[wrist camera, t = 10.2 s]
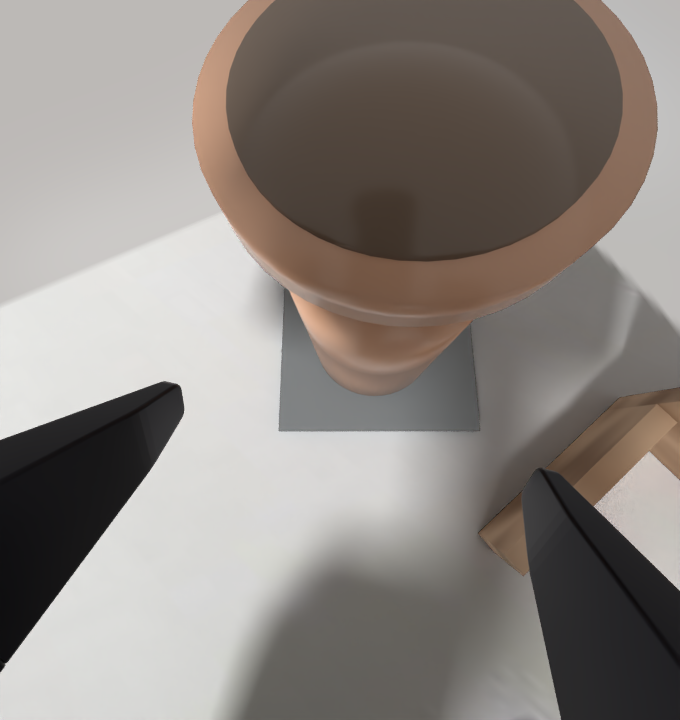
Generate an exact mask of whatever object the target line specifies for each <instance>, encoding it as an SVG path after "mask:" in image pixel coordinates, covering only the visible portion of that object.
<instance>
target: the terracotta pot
mask: <svg viewBox="0 0 680 720" xmlns="http://www.w3.org/2000/svg"><path fill="white" fill-rule="evenodd" d="M192 125H193V134H194V144H195V149H196V153H197V156H198V160H199V163H200V167H201V170H202V173H203V175H204V177H205V179H206V181H207V183H208V185H209V187H210V190H211V192H212V194H213V196H214V197H215V199H216V201H217V203H218V204H219V206H220V208H221V210H222V211H223V213H224V215H225V217H226V218H227V220H228V222H229V224H230V225H231V227H232V229H233V231H234V232H235V234H236V235H237V237H238V238H239V240H240V241H241V243H242V244H243V246H244V247H245V249H246V250H247V252H248V253H249V254H250V255H251V257H252V258H253V259H254V260H255V261H256V262H257V263H258V264H259V265H260V266H261V268H262V269H263V270H264V271H265V272H266V273H268V274H269V275H270V276H271V277H273V278H274V279H275V280H276V281H277V282H279V283H280V284H281V285H282V286H283V287H285V288H286V289H288V290H289V291H290V293H291V296H292V298H293V300H294V303H295V305H296V307H297V309H298V312H299V314H300V316H301V319H302V321H303V323H304V326H305V328H306V330H307V332H308V335H309V337H310V339H311V342H312V344H313V346H314V349H315V351H316V353H317V356H318V358H319V360H320V362H321V364H322V366H323V368H324V369H325V371H326V372H327V374H328V375H329V376H330V377H331V378H332V379H333V380H334V381H335V382H336V383H337V384H339V385H340V386H342V387H343V388H345V389H347V390H349V391H351V392H354V393H357V394H361V395H366V396H383V395H388V394H392V393H395V392H398V391H400V390H402V389H404V388H406V387H407V386H409V385H410V384H412V383H413V382H414V381H415V380H416V379H417V378H418V377H419V376H420V375H421V374H422V373H423V372H424V371H425V370H426V369H427V368H428V367H429V366H430V365H431V364H432V363H433V361H434V360H435V359H436V358H437V357H438V356H439V355H440V354H441V353H442V352H443V351H444V350H445V349H446V348H447V347H448V346H449V345H450V344H451V343H452V342H453V341H454V340H455V339H456V337H457V336H458V335H459V334H460V333H461V332H462V331H463V330H464V329H465V328H466V327H467V326H468V325H469V324H470V323H471V322H472V321H473V320H474V319H477V318H480V317H483V316H486V315H489V314H492V313H495V312H498V311H501V310H503V309H505V308H507V307H509V306H511V305H513V304H515V303H517V302H519V301H521V300H523V299H525V298H527V297H529V296H530V295H532V294H533V293H535V292H536V291H538V290H539V289H541V288H542V287H544V286H545V285H546V284H548V283H549V282H551V281H552V280H553V279H554V278H555V277H557V276H558V275H559V274H560V273H561V272H563V271H564V270H565V269H566V268H568V267H569V266H570V265H571V264H572V263H574V262H575V261H576V260H577V259H578V258H580V257H581V256H582V255H583V254H584V253H586V252H587V251H588V250H589V249H590V248H592V247H593V246H594V245H595V244H596V243H597V242H598V241H599V240H600V239H601V238H602V237H603V236H605V235H606V234H607V233H608V232H609V231H610V230H611V229H612V228H613V227H614V226H615V225H616V223H617V222H618V221H619V220H620V218H621V217H622V216H623V215H624V213H625V212H626V211H627V210H628V208H629V207H630V206H631V204H632V203H633V201H634V199H635V197H636V195H637V194H638V192H639V190H640V188H641V186H642V185H643V183H644V181H645V178H646V175H647V172H648V170H649V167H650V164H651V161H652V158H653V155H654V149H655V143H656V137H657V130H658V127H657V102H656V96H655V91H654V86H653V81H652V78H651V75H650V73H649V70H648V67H647V65H646V62H645V59H644V57H643V55H642V53H641V51H640V50H639V48H638V46H637V44H636V43H635V41H634V39H633V37H632V35H631V34H630V33H629V32H628V30H627V29H626V28H625V26H624V25H623V24H622V22H621V21H620V20H619V18H617V16H616V15H615V14H614V13H613V12H612V11H611V10H610V9H609V8H608V7H607V6H606V5H605V4H604V3H603V2H602V1H601V0H248V1H247V2H246V3H245V4H244V5H243V6H242V7H241V9H239V11H238V12H237V13H236V14H235V15H234V16H233V17H232V18H231V19H230V21H229V22H228V23H227V24H226V26H225V27H224V28H223V30H222V31H221V32H220V34H219V35H218V37H217V38H216V40H215V42H214V44H213V45H212V47H211V49H210V51H209V53H208V54H207V56H206V59H205V61H204V64H203V67H202V69H201V72H200V75H199V77H198V82H197V86H196V91H195V95H194V100H193V120H192Z"/></svg>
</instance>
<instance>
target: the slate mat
mask: <svg viewBox="0 0 680 720" xmlns="http://www.w3.org/2000/svg"><path fill="white" fill-rule="evenodd" d="M279 431H480V423H479V413H478V402H477V392H476V381H475V370H474V360H473V349H472V339H471V328H470V324H469V325H468V326H467V327H466V328H465V329H464V330H463V331H462V332H461V333H460V334H459V335H458V336H457V337H456V339H455V340H454V341H453V342H452V343H451V344H450V345H449V346H448V347H447V348H446V349H445V350H444V351H443V352H442V353H441V354H440V355H439V356H438V357H437V358H436V359H435V360H434V361H433V363H432V364H431V365H430V366H429V367H428V368H427V369H426V370H425V371H424V372H423V373H422V374H421V375H420V376H419V377H418V378H417V379H416V380H415V381H414V382H413V383H412V384H410V385H409V386H407V387H406V388H404V389H402V390H400V391H398V392H395V393H392V394H388V395H383V396H366V395H361V394H357V393H354V392H351V391H349V390H347V389H345V388H343V387H342V386H340V385H339V384H337V383H336V382H335V381H334V380H333V379H332V378H331V377H330V376H329V375H328V374H327V372H326V371H325V369H324V368H323V366H322V364H321V362H320V360H319V358H318V356H317V353H316V351H315V349H314V346H313V344H312V342H311V339H310V337H309V335H308V332H307V330H306V328H305V326H304V323H303V321H302V319H301V316H300V314H299V312H298V309H297V307H296V305H295V303H294V300H293V298H292V296H291V293H290V291H289V290H288V289H286V288H285V289H284V313H283V337H282V362H281V386H280V410H279Z"/></svg>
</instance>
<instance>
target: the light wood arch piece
mask: <svg viewBox="0 0 680 720" xmlns="http://www.w3.org/2000/svg"><path fill="white" fill-rule="evenodd" d="M648 451H650V452H651V453H652V454H653V455H654V456H655V457H656V458H657V459H658V460H659V461H660V462H661V463H662V464H663V465H665V466H666V467H667V468H668V469H669V470H670V471H671V472H672V473H673V474H674V475H675V476H676V477H677V478H678V479H679V480H680V387H679V388H673V389H667V390H661V391H655V392H649V393H643V394H637V395H631V396H625V397H620V398H619V399H618V400H617V401H615V402H614V403H613V404H612V405H611V406H610V407H609V408H608V409H607V410H606V411H605V412H604V413H603V414H602V415H601V416H600V417H599V418H598V419H597V420H596V421H595V422H594V423H593V424H591V425H590V426H589V427H588V428H587V429H586V430H585V431H584V432H583V433H582V434H581V435H580V436H579V437H578V438H577V439H576V440H575V441H574V442H573V443H572V444H571V445H570V446H569V447H567V448H566V449H565V450H564V451H563V452H562V453H561V454H560V455H559V456H558V457H557V458H556V459H555V460H554V461H553V462H552V463H551V464H550V465H549V466H548V467H547V468H546V469H548V470H552V471H556V472H558V473H559V474H561V475H562V476H563V477H564V478H565V479H566V480H567V481H568V482H569V483H570V484H571V485H572V486H573V487H574V488H575V489H576V490H577V491H578V492H579V493H580V494H581V495H582V496H583V497H584V498H585V499H586V500H587V501H588V502H589V503H590V504H591V505H592V506H594V505H595V504H596V503H597V502H598V501H599V500H600V499H601V498H602V497H603V496H604V495H605V494H606V493H607V492H608V491H609V490H610V489H611V488H612V487H613V486H614V485H615V484H616V483H617V482H618V481H619V480H620V479H621V478H622V477H623V476H624V475H625V474H626V473H627V472H628V471H629V470H630V469H631V468H632V467H633V466H634V465H635V464H636V463H637V462H638V461H639V460H640V459H641V458H642V457H643V456H644V455H645V454H646V453H647V452H648ZM522 492H523V491H522ZM522 492H521V493H519V494H518V495H517V496H516V497H515V498H514V499H513V500H512V501H511V502H510V503H509V504H508V505H507V506H506V507H505V508H504V509H503V510H502V511H501V512H500V513H499V514H498V515H496V516H495V517H494V518H493V519H492V520H491V521H490V522H489V523H488V524H487V525H486V526H485V527H484V528H483V529H482V530H481V531H480V532H479V533H478V534H479V535H480V537H481V538H482V539H483V540H484V541H485V542H486V544H487V545H488V546H489V547H490V548H491V549H492V551H493V552H495V553H496V554H497V555H498V556H499V557H501V558H502V559H503V560H504V561H505V562H507V563H508V564H509V565H510V566H511V567H513V568H514V569H515V570H516V571H518V572H519V573H520V574H521V575H522V576H524V575H525V574H526V573H527V572H528V571H529V565H528V557H527V549H526V539H525V529H524V519H523V510H522V499H521V498H522Z"/></svg>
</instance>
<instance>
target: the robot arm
mask: <svg viewBox="0 0 680 720" xmlns="http://www.w3.org/2000/svg"><path fill="white" fill-rule="evenodd" d="M183 414H184V403H183V396H182V390H181V387H180V386H179V385H178V384H175V383H171V382H166V381H163V382H160V383H157V384H154V385H151V386H149V387H146V388H143V389H140V390H138V391H135V392H132V393H129V394H126V395H124V396H121V397H118V398H115V399H113V400H110V401H107V402H104V403H102V404H99V405H96V406H93V407H90V408H88V409H85V410H82V411H79V412H77V413H74V414H71V415H68V416H66V417H63V418H60V419H57V420H54V421H52V422H49V423H46V424H43V425H41V426H38V427H35V428H32V429H30V430H27V431H24V432H21V433H18V434H16V435H13V436H10V437H7V438H5V439H2V440H0V672H1V671H2V670H3V668H4V667H5V663H7V662H8V661H9V660H10V658H11V657H12V656H13V654H14V653H15V652H16V650H17V649H18V648H19V646H20V645H21V644H22V642H23V641H24V640H25V638H26V637H27V635H28V634H29V633H30V631H31V630H32V629H33V627H34V626H35V625H36V623H37V622H38V621H39V619H40V618H41V617H42V615H43V614H44V613H45V611H46V610H47V609H48V607H49V606H50V605H51V603H52V602H53V600H54V599H55V598H56V596H57V595H58V594H59V592H60V591H61V590H62V588H63V587H64V586H65V584H66V583H67V582H68V580H69V579H70V578H71V576H72V575H73V574H74V572H75V571H76V570H77V568H78V567H79V565H80V564H81V563H82V561H83V560H84V559H85V557H86V556H87V555H88V553H89V552H90V551H91V549H92V548H93V547H94V545H95V544H96V543H97V541H98V540H99V539H100V537H101V536H102V534H103V533H104V532H105V530H106V529H107V528H108V526H109V525H110V524H111V522H112V521H113V520H114V518H115V517H116V516H117V514H118V513H119V512H120V510H121V509H122V508H123V506H124V505H125V504H126V502H127V501H128V499H129V498H130V497H131V495H132V494H133V493H134V491H135V490H136V489H137V487H138V486H139V485H140V483H141V482H142V481H143V479H144V478H145V477H146V475H147V474H148V472H149V471H150V470H151V468H152V467H153V465H154V464H155V462H156V461H157V459H158V457H159V456H160V454H161V452H162V451H163V449H164V447H165V446H166V444H167V442H168V441H169V439H170V437H171V436H172V434H173V432H174V430H175V429H176V427H177V425H178V424H179V422H180V420H181V419H182V417H183ZM521 499H522V510H523V519H524V529H525V539H526V549H527V557H528V565H529V570H530V575H531V580H532V585H533V590H534V594H535V599H536V604H537V608H538V613H539V618H540V622H541V627H542V632H543V636H544V641H545V646H546V650H547V655H548V660H549V665H550V669H551V674H552V679H553V683H554V688H555V693H556V697H557V702H558V707H559V711H560V716H561V720H680V591H679V590H678V589H677V588H676V587H675V586H674V585H673V584H672V583H671V582H670V581H669V580H668V579H667V578H666V577H665V576H664V575H663V574H662V573H661V572H660V571H659V570H658V569H657V568H656V567H655V566H654V565H653V564H652V563H651V562H650V561H649V560H648V559H647V558H646V557H644V556H643V555H642V554H641V553H640V552H639V551H638V550H637V549H636V548H635V547H634V546H633V545H632V544H631V543H630V542H629V541H628V540H627V539H626V538H625V537H624V536H623V535H622V534H621V533H620V532H619V531H618V530H617V529H616V528H615V527H614V526H613V525H612V524H611V523H610V522H609V521H608V520H607V519H606V518H605V517H604V516H603V515H602V514H601V513H600V512H599V511H597V510H596V509H595V508H594V507H593V506H592V505H591V504H590V503H589V502H588V501H587V500H586V499H585V498H584V497H583V496H582V495H581V494H580V493H579V492H578V491H577V490H576V489H575V488H574V487H573V486H572V485H571V484H570V483H569V482H568V481H567V480H566V479H565V478H564V477H563V476H562V475H561V474H559V473H558V472H556V471H552V470H548V469H544V468H538V469H537V470H535V472H534V473H533V475H532V476H531V478H530V480H529V481H528V483H527V484H526V486H525V487H524V489H523V492H522V498H521Z"/></svg>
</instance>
